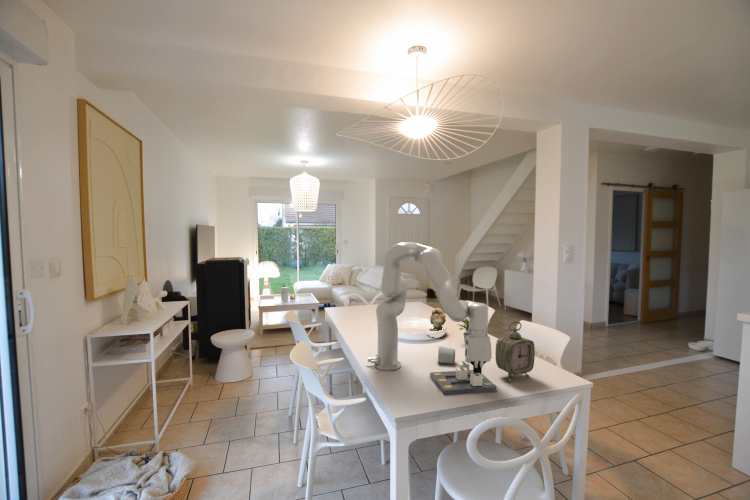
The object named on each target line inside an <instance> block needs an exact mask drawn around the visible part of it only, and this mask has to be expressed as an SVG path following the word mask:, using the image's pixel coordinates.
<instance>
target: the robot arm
mask: <svg viewBox="0 0 750 500" xmlns="http://www.w3.org/2000/svg"><path fill="white" fill-rule="evenodd" d="M383 260H384V261H383V271H382V277H381V288H380V290H381V293H382V294H383V296H384V297H385V298H386V297H387V298H386V299H383V300H382V301H380V302H378V304H377V307H376V309H375V311H376V312H375V313H376V315H375V316H376V321H377V354H376V355H375V356H373V357H367V362H368V363H371V364H373V365H374V367H375V368H376V369H378V370H380V371H386V372H388V371H396V370H398V369H400V368H401V366H402V363H401V362H400V361H399V359H398V356H399V355H398V354H399V353H398V352H399V351H398V349H399V348H398V347H399V343H398V342H399V334H398V333H399V332H398V331H399V329H398V321H397V317H398V316H400V315H401V314H402V313H403V312H404V309H405V308H406V307H405V306H406V299H407V298H406V297H407V291H408V288H407V287H408V284H407V281H406V279H405V278H404V277H403V276H402V271H403V270H402V268H403V267H402V262H406V261H415V262H417V263H420V265H421V267H422V268H423V270H424V272H425V273H426V275H427V277H428V278H429V280H430V281H431V283H432V286H433V287H434V290H435V293H436V296H437V299H438V301H439V303H440V305H441V306H442V310H443V311H444V313H445V315H447V317H448V318H449V319H450V320H451V321H453V322H456V323H460V322H463V321H465V318H466V319H468V322H469V328H468V330H465V332H466V334H469V335H467V339H466V345H465V344H464V346H465V348H464V357H465V359H464V362H466V363H469V364H471V366H472V367H473V368H472V370H473V373H480V374H481V373H482V368H483V367H484V365H485V364H486V363H489V362H491V360H492V344H491V339H490V338H491V337H490V336H489V335H488V334H489V333H488V332H489V331H488V328H489V327H488V325H489V307H488V304H486V303H483V302H472V301H466V300H464V299H460V300H459V299H458V297H457V295H456V293H455V291H454V287H453V278H452V274H450V272H449V270H448V269H447V267H446V266H445V264H444V263H443V254H442V252H441V251H440V250H439V249H438V248H435V247H431V246H428V245H425V244H424V245H423V244H420V243H418V242H413V241H403V242H402V241H401V242H398V243H394V244H393V245H391V246H390V247H388V249H387V250H386V252H385V253H384V259H383ZM482 374H483V373H482Z"/></svg>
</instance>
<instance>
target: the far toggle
mask: <svg viewBox="0 0 750 500" xmlns="http://www.w3.org/2000/svg"><path fill="white" fill-rule="evenodd" d="M457 366H458V367H457V368H459V367H462V368H466V369H467V370H468V373H469V370H470V363H466V362H465V360H463V361H461V362H460V361H459V362H458V365H457Z"/></svg>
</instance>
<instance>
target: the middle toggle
mask: <svg viewBox="0 0 750 500" xmlns="http://www.w3.org/2000/svg"><path fill="white" fill-rule="evenodd" d="M455 371H456V378H457V379H458V380H468V370H467V369H466V368H462V367H459V368H458V367H457V368H456V370H455Z"/></svg>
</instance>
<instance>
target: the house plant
mask: <svg viewBox="0 0 750 500" xmlns="http://www.w3.org/2000/svg"><path fill="white" fill-rule="evenodd" d="M462 323H463V325H462V324H458V323H457V324H456V325H457V326H458V327H460V328H459V331H461V330H465V332H463V338H464V346H465V345H466V339H467V335H469V334H466V330H468V328H469V319H468V318H465V319H464V320H463V321H462Z"/></svg>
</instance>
